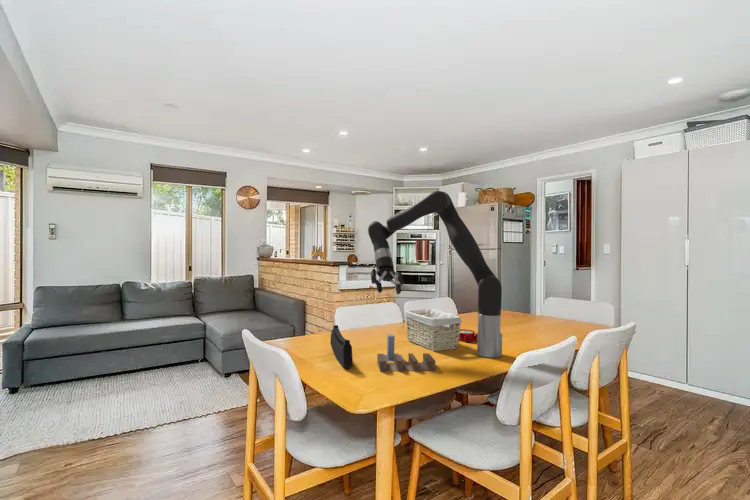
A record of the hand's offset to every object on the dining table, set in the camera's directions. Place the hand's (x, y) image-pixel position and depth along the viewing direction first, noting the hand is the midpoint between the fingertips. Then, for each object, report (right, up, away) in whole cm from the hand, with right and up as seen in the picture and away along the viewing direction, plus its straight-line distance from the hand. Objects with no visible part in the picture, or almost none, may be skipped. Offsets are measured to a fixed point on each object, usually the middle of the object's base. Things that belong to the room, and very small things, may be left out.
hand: (389, 292), depth 165 cm
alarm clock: (+39, -26, +27) cm, 54 cm away
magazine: (-20, -26, -9) cm, 34 cm away
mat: (0, -26, -8) cm, 27 cm away
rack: (+5, -26, -19) cm, 32 cm away
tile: (0, -25, -8) cm, 26 cm away
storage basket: (+20, -26, +16) cm, 37 cm away
